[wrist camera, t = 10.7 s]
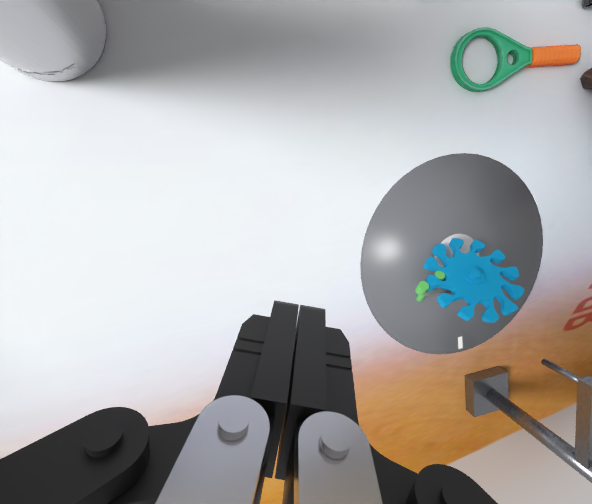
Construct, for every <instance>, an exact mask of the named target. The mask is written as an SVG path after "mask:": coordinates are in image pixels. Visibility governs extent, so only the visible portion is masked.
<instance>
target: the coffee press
mask: <svg viewBox="0 0 592 504" xmlns="http://www.w3.org/2000/svg"><path fill="white" fill-rule="evenodd" d="M591 5H592V0H583V8H586V7H589V6H591Z"/></svg>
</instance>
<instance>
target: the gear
mask: <svg viewBox="0 0 592 504" xmlns="http://www.w3.org/2000/svg"><path fill="white" fill-rule="evenodd" d="M463 244H464V241H463V240H462V239H459V238H452V240H451V241H450V243H449V246H450V248H451V249H452V252H453V257H452V258H451V257H448V256H447V255H446V246H445V245H444V244H438V245H436V246H434V248H433V249H432V253H433V254H434V255H435V256H437V257H438V258H439V259H440V260H441V261H442V263H443V265H444V267H440V266H439V265H438V263H437V261H436V259H435V258H433V257H429V258H428V259H427V260H426V262H425V264H424V266H423V267H424V269H426V270H430V271H433V272H435V274H434V275H428V277H427V278H426V280H424V281H421V282H419V284H418V286H417V287H416V289H415V292H416V293H417V294H418V295H417V297H416V300H417V301H419V302H421V301H422V300H423V299H424V297H425V296H435V295H439V296H438V297H437V301H438V303H439V305H440V306H441V307H442V308H446V307H448V306H449V305H450V304H451V303H452V302H453V301H454V302H457V301H458V300H464V301H466V302H467V303H468V306H463V307H462V308H461V309H460V310H459V311H458V312H457V315H458V316H459V317H461V318H462V319H464V320H466V321H469V320H470V319H471V318H472V317H473V316H474V307H475V305H476V304H478V303H480V304H483V305H484V306H485V308H486V311H485V312H484V313H483V314H482V315H481V319H482V321H484V322H487V323H495V322H496V321H497V320H498V319H499V315H498V314H497V312H496V311H495V309H494V306H493V299H496V300H498V301H499V302H500V311H501V313H502V314H503V315H510V314H512V313H513V312H515V311H516V310H517V309H518V307H517V306H516V304H514V303H513V302H511V301H510V300H509V299H508V298H507V297H506V296H505V295H504V293H503V291H502V289H501V288H503V289H505V290H506V291H507V293H508V295H509V296H510V297H511V298H512V299H514V300H517V299H518V298H520V297H521V296H522V295H523V293H524V290H525V289H524V288H523V287H521V286H518V285H513V284H511V283H509V282H507V281H506V280H504V279H503V278H502V277H501V276H500V275H503V276H504V277H505V278H507V279H508V280H511V281H514V280H516V279H517V278H518V277H519V271H518V269H517V267H513V266H511V267H507V268H502V267H498V266H495V265H493V264H491V262H493V263H497V264H499V263H501V262H502V261H503V260H504V259H505V258H506V257H505V256H504V254H503V253H502V252H501V251H500V250H495V251H494V252H493V253H492V254H491V255H489V256H484V257H480V256H478V255H477V254H476V253H479V252H481V251H482V250H483V248H484V247H485V244H484V243H483V242H481V241H479V240H476V239H475V240H474V241H473V242H472V244H471V245H470V252H468V253H467V254H464V253H461V252H460V250H459V249H460V248H461V247H462V245H463ZM449 294H451V295H449Z"/></svg>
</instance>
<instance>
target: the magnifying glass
mask: <svg viewBox="0 0 592 504" xmlns="http://www.w3.org/2000/svg"><path fill="white" fill-rule="evenodd" d="M476 37H480V38H485V39H487V40H488V41H489V42H491V43H492V45H493V46H494V48H495V50H496V53H497V58H498V63H497V69H496V71H495V74H494V75H493V77H492V78H491V79H490V80H489V81H488V82H487V83H485V84H476V83H474V82H472V81H471V80H469V79H468V77H467V76H466V74H465V73H464V70H463V67H462V55H463V51H464V49H465V47H466V45H467V43H468V42H469V41H470V40H472V39H473V38H476ZM508 53H510V54H511V55H512V56H513V63H512V65H510V64H509V63H508V61H507V54H508ZM580 55H581V47H580V45H563V46H547V47H532V48H529V47H526V46H524V45H522V44H521V43H519V42H517V41H515V40H513V39H511V38H510V37H508V36H506V35H504V34H502V33H501V32H499V31H497V30H494V29H491V28H479V29H476V30H473V31H471V32H469V33H467V34H466V35H464V36H463V37H462V38H461V39H460V40H459V41H458V42H457V43H456V45H455V46H454V49H453V51H452V55H451V70H452V74H453V76H454V78H455V80H456V81H457V83H458V84H459V85H460V86H462V87H463V88H465V89H467V90H469V91H473V92H481V91H485V90H488V89H490V88H492V87H494V86H496V85H498V84H499V83H501V82H502V81H504V80H505V79H507V78H508V77H510V76H511V75H512V74H514V73H515V72H517V71H518V70H520V69H521V68H523V67H539V66H554V65H567V64H574V63H576V62H577V61H578V60H579V59H580Z"/></svg>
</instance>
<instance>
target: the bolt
mask: <svg viewBox="0 0 592 504" xmlns="http://www.w3.org/2000/svg"><path fill="white" fill-rule="evenodd" d="M580 80H581V83H582V86H583V88H589V89H592V68H591V69H589V70H588V71H586V72H585V73H584V74H583V75H582V77H581V78H580Z"/></svg>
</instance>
